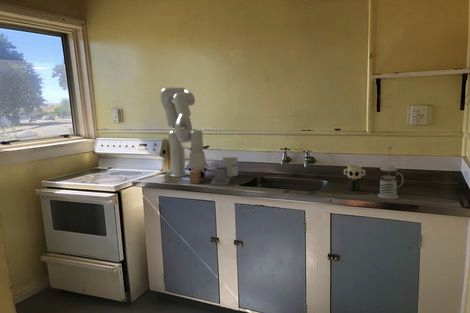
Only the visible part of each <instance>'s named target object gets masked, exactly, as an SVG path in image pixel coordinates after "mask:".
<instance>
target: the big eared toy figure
mask: <svg viewBox="0 0 470 313" xmlns="http://www.w3.org/2000/svg"><path fill="white" fill-rule="evenodd" d="M346 171H347V172H346ZM343 175H344V176H347V178H348V179H349V181H348V184H347V189H348V190H350V191H359V190H361V183H360V179H362V177H364V176H366V169H362V165H358V164H357V165H356V164H351V165H347V168H345V169H343Z"/></svg>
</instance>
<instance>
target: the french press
mask: <svg viewBox="0 0 470 313" xmlns="http://www.w3.org/2000/svg"><path fill="white" fill-rule="evenodd" d="M387 149H388V158H391V157H390V153H391V150H390V149H392V146H390V145H388V146H387ZM379 169H380V171H383V172H396V171H398V168H397V167H395V166H393V165H390V164H388V165H385V166H381V167H380V168H379ZM395 174H396V176H398V175H400V176H401V184H400V185H398V184H397V183H398V180H397V177H396V176H394V175H390V173H388V175H381V176H380V180H379V193H378V194H377V196H378V198H383V199H391V198H392V199H398V198H399V195H398V188H400V187H401V186H402V185H403V184H404V176H403V174H402V173H400V172H396V173H395Z"/></svg>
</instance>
